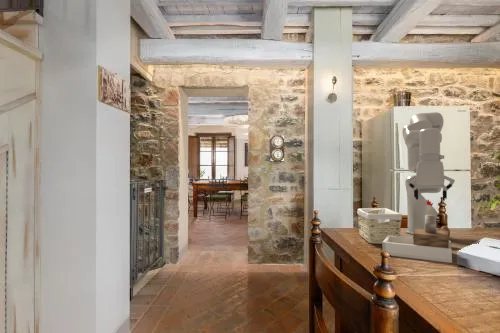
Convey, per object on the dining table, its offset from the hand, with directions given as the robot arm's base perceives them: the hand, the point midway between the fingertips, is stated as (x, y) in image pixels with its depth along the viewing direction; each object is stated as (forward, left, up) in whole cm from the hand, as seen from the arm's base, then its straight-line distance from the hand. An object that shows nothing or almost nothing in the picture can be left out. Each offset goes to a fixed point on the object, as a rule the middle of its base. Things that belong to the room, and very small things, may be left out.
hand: (430, 199), depth 131 cm
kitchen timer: (-57, -63, -23) cm, 88 cm away
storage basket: (+3, -31, -23) cm, 39 cm away
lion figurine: (-13, -10, -23) cm, 28 cm away
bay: (+4, -3, -23) cm, 23 cm away
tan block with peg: (0, 0, -21) cm, 21 cm away
